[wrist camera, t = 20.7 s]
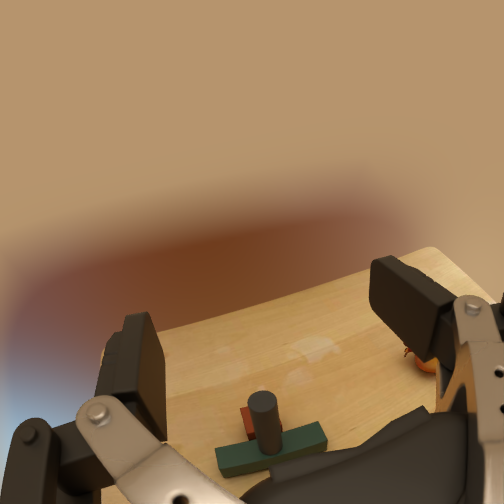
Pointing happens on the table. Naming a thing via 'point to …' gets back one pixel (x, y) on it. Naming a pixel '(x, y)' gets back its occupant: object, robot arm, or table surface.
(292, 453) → the wiper
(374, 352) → the table surface
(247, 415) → the rust-brown cube
